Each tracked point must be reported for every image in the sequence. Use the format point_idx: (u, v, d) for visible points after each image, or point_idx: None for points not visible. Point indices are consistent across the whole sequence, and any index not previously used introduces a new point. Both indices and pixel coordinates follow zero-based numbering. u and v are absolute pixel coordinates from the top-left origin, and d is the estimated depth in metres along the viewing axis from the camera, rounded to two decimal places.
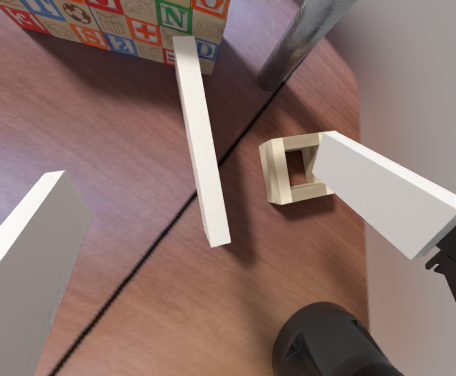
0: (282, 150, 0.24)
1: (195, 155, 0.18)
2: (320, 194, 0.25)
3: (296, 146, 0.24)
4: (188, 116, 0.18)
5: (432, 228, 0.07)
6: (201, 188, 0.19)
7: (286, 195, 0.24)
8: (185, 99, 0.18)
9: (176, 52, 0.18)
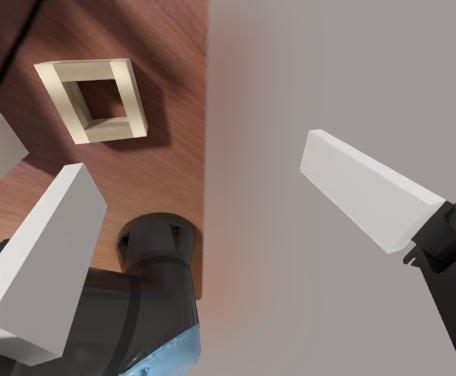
0: (58, 82, 0.19)
1: None
2: (124, 136, 0.24)
3: (78, 78, 0.20)
4: None
5: (406, 222, 0.07)
6: None
7: (79, 135, 0.23)
8: None
9: None
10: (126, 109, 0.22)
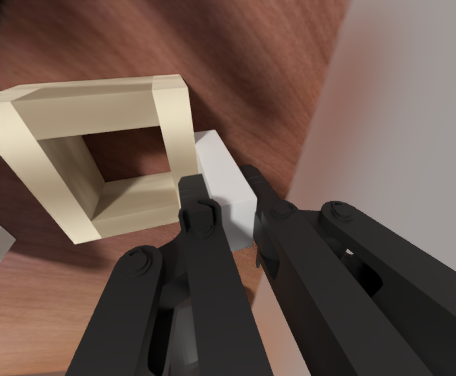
0: (29, 141, 0.08)
1: None
2: (166, 221, 0.13)
3: (79, 130, 0.08)
4: None
5: None
6: None
7: (82, 230, 0.11)
8: None
9: None
10: (176, 179, 0.11)
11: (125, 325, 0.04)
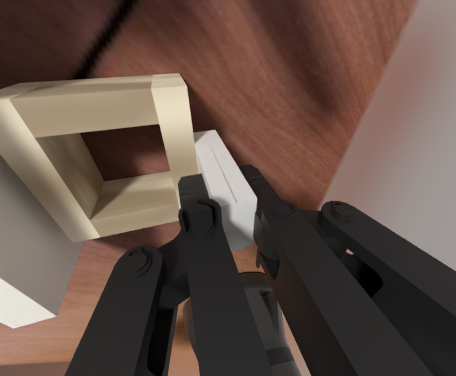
0: (28, 139, 0.08)
1: None
2: (166, 220, 0.13)
3: (78, 128, 0.08)
4: None
5: None
6: None
7: (81, 229, 0.11)
8: None
9: None
10: (175, 178, 0.11)
11: (125, 325, 0.04)
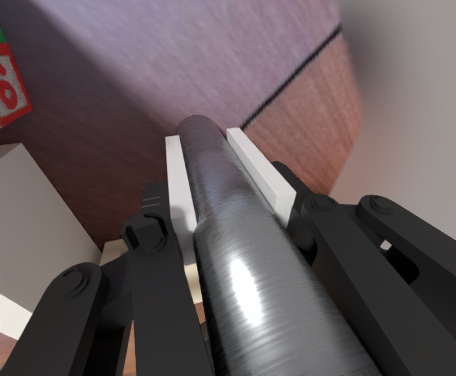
0: None
1: None
2: None
3: None
4: (1, 331, 0.10)
5: None
6: None
7: None
8: None
9: None
10: (190, 289, 0.19)
11: (51, 354, 0.04)
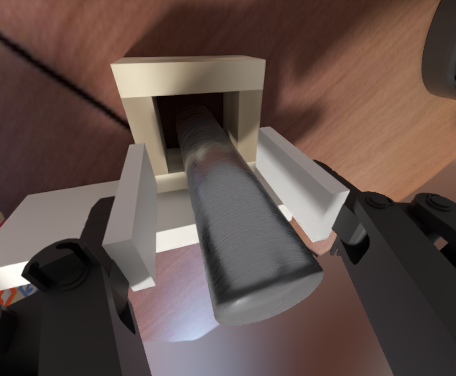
0: (169, 176, 0.14)
1: (176, 246, 0.14)
2: (258, 107, 0.12)
3: (160, 152, 0.12)
4: None
5: (320, 211, 0.07)
6: None
7: None
8: None
9: (16, 285, 0.12)
10: (208, 89, 0.11)
11: None
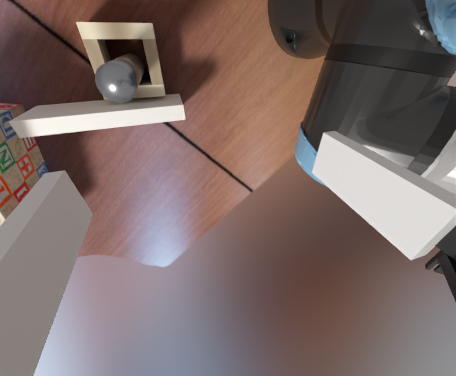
0: None
1: (117, 126, 0.26)
2: (155, 49, 0.25)
3: None
4: (86, 129, 0.25)
5: (432, 228, 0.07)
6: (142, 123, 0.26)
7: (157, 90, 0.27)
8: (72, 131, 0.25)
9: (33, 135, 0.24)
10: (125, 37, 0.23)
11: None
